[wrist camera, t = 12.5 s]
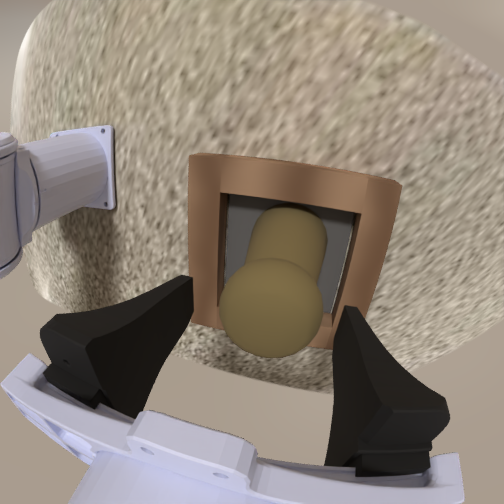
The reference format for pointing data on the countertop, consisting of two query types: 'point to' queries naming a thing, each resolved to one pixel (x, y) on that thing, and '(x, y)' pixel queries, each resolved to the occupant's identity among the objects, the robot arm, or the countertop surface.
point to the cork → (277, 284)
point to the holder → (278, 192)
